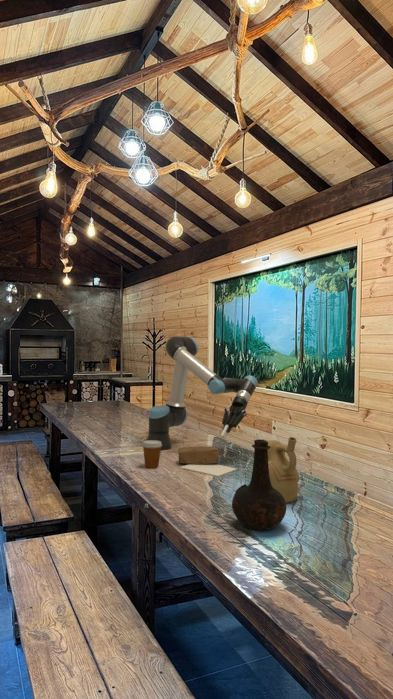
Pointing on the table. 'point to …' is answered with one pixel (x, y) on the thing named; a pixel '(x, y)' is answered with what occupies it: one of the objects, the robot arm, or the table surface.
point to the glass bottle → (259, 495)
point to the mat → (210, 469)
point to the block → (198, 455)
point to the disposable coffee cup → (152, 453)
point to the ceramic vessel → (283, 469)
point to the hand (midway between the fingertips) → (222, 437)
